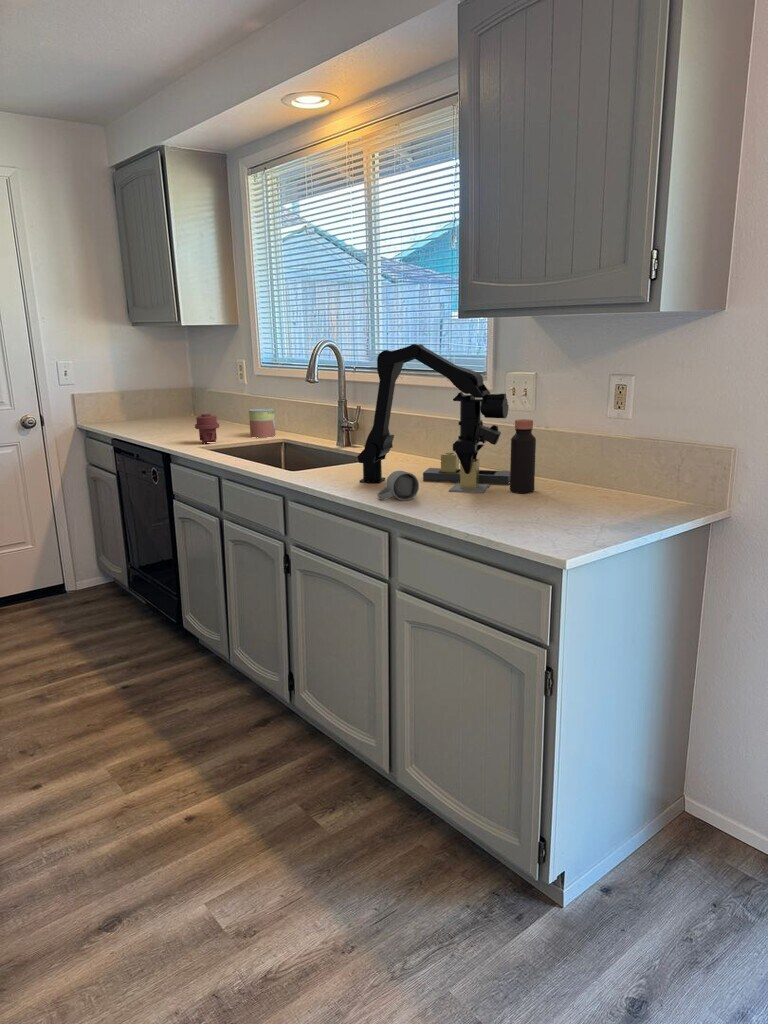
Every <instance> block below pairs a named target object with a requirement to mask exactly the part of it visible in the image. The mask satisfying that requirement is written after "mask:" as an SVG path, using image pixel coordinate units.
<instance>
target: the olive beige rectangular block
mask: <svg viewBox="0 0 768 1024" xmlns="http://www.w3.org/2000/svg"><path fill="white" fill-rule="evenodd" d="M459 469H460V482H459V483H460V489H477V488H478V486H479V484H480V483H479V470H480V458H476V459H472V463H471V468H470V473H469V474H466V473H465V471H464V469H463V467H462V464H461V462H460V461H459Z"/></svg>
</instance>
